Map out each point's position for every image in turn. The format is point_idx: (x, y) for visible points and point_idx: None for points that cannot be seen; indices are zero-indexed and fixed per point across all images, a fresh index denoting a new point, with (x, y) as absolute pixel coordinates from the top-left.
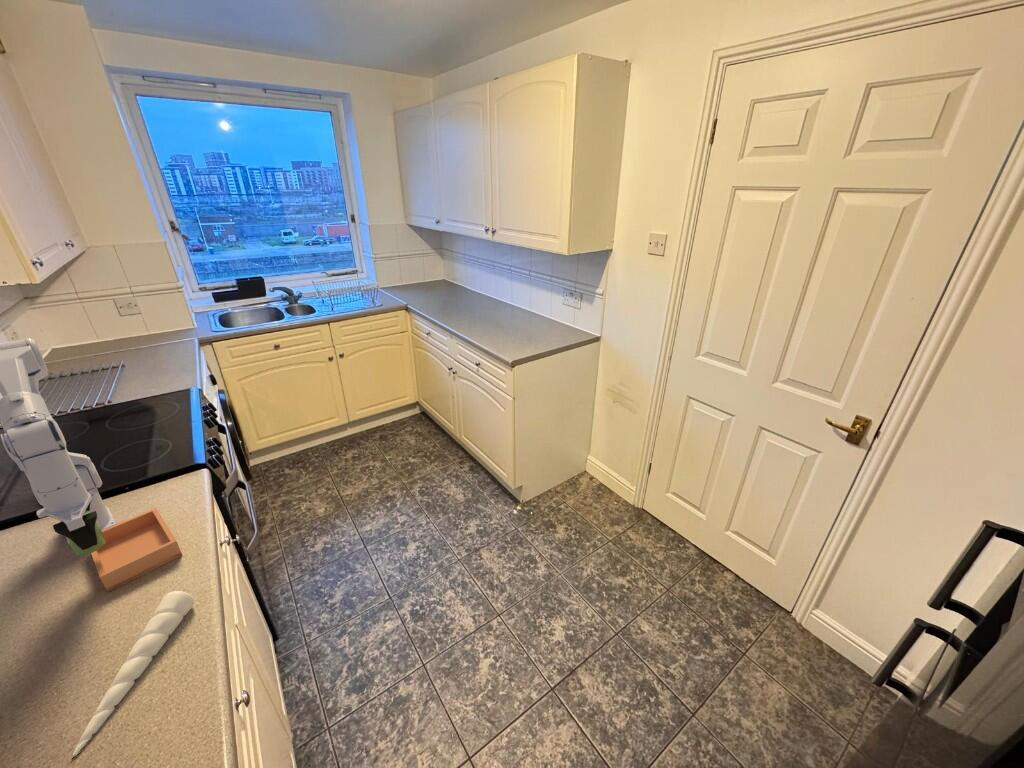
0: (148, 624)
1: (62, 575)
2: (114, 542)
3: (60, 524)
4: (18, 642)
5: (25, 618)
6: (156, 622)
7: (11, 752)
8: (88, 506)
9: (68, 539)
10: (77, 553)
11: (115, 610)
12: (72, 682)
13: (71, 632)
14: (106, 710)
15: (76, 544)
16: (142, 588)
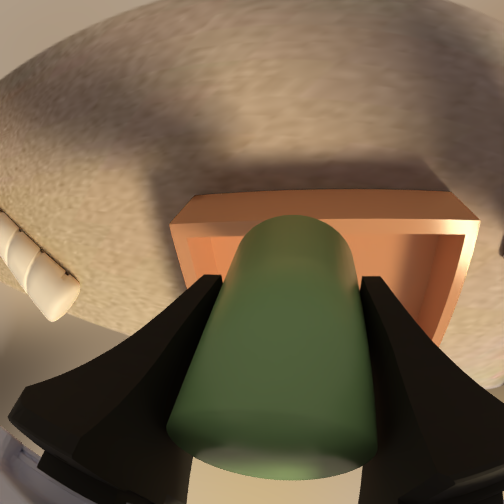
0: (17, 265)
1: (399, 104)
2: (426, 248)
3: (66, 460)
4: (145, 19)
5: (240, 13)
6: (15, 276)
7: None
8: (362, 484)
9: (238, 295)
10: (254, 230)
11: (117, 204)
12: (10, 147)
13: (101, 124)
14: None
15: (174, 301)
16: (158, 256)
